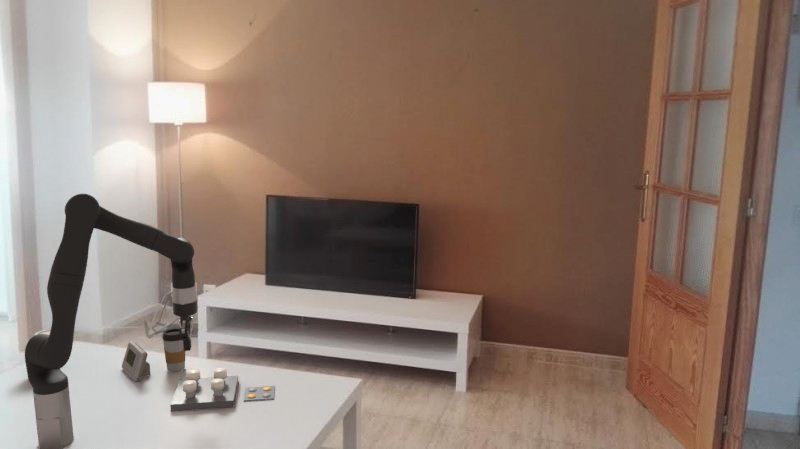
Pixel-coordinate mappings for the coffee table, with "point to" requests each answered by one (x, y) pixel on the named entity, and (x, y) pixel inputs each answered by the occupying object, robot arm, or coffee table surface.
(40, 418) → the robot arm
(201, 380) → the board
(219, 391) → the button
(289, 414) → the coffee table surface
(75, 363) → the coffee table surface
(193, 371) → the button
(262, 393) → the card
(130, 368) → the digital clock
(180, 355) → the coffee cup
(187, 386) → the button
